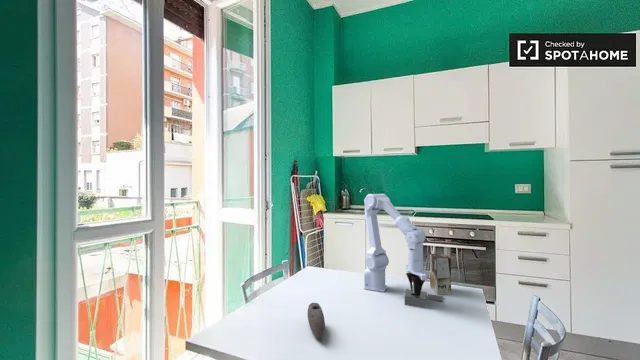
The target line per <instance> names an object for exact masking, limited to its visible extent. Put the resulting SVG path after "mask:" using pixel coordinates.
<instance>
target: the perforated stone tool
mask: <svg viewBox="0 0 640 360" xmlns="http://www.w3.org/2000/svg"><path fill="white" fill-rule="evenodd" d="M307 321H308V325H309V328H310V329H311V331H312V333H313V335H314V337H315V338H316V339H318V340H320V339H322V338H323V336H324V335H325V332H326V331H325V330H326V323H325V322H326V321H325V316H324V313H323V308H322V307H321V305H320V304H319V303H318V302H311V303H310V304H309V305H308V308H307Z"/></svg>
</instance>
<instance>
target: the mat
mask: <svg viewBox="0 0 640 360" xmlns="http://www.w3.org/2000/svg"><path fill="white" fill-rule="evenodd" d="M443 297H444V296H443V295H440V294H431V293H427V301H431V302H436V303H443V302H444V301H443V300H444V299H443Z"/></svg>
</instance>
